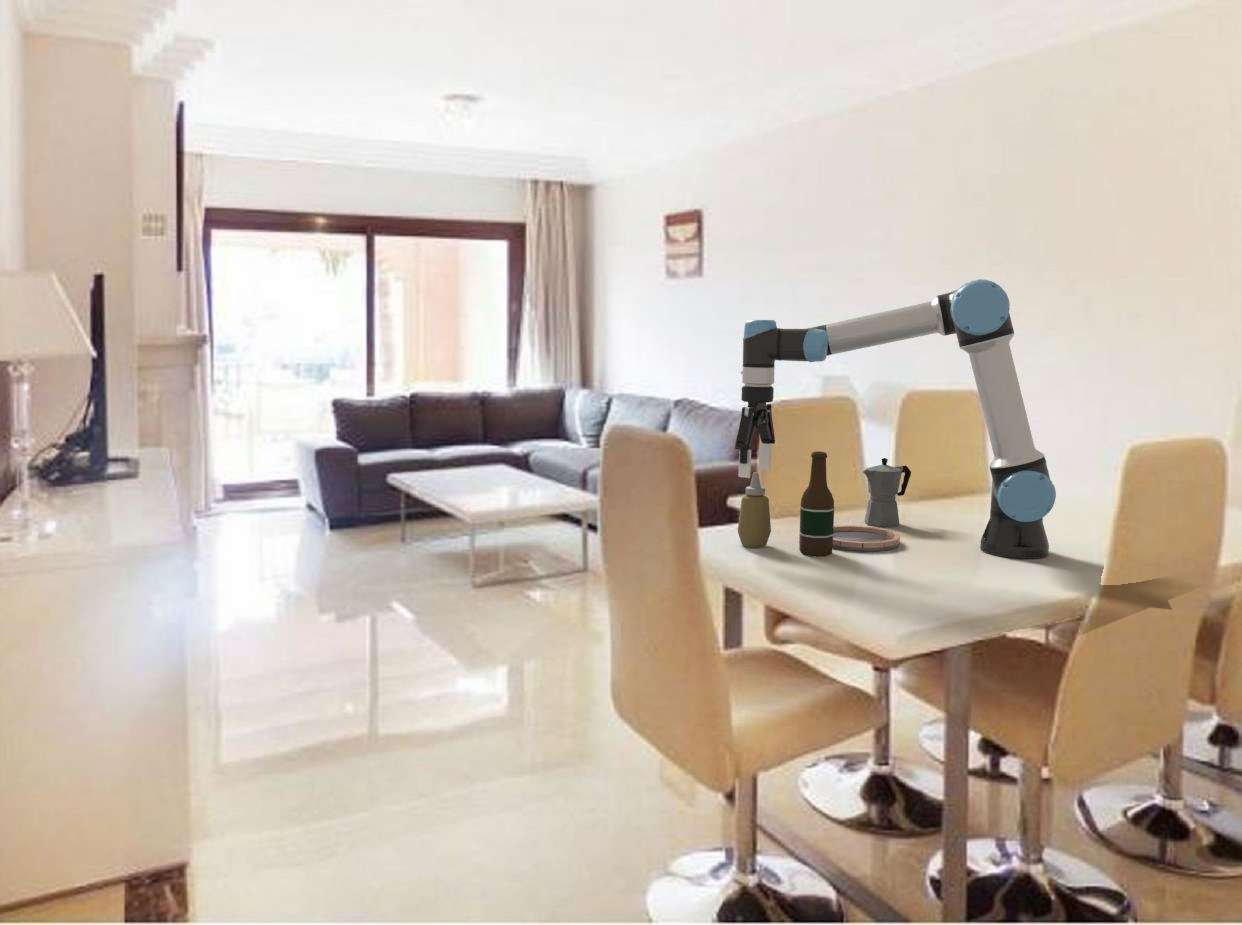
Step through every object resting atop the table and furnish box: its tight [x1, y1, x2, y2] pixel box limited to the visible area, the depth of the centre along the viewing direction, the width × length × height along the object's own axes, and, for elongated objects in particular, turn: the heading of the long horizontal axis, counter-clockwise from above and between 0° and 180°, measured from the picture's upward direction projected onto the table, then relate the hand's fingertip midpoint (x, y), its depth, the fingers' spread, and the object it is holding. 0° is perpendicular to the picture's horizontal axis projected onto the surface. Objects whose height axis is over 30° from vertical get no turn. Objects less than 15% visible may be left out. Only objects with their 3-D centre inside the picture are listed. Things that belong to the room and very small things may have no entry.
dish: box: [832, 524, 901, 553], centre depth 240 cm, size 20×20×2 cm
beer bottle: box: [798, 451, 835, 557], centre depth 227 cm, size 8×8×24 cm
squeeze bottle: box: [737, 472, 772, 549], centre depth 234 cm, size 8×8×18 cm
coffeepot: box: [862, 457, 912, 528], centre depth 262 cm, size 15×9×18 cm, turn 113°
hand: (754, 473), depth 233 cm, fingers open, 13 cm apart
